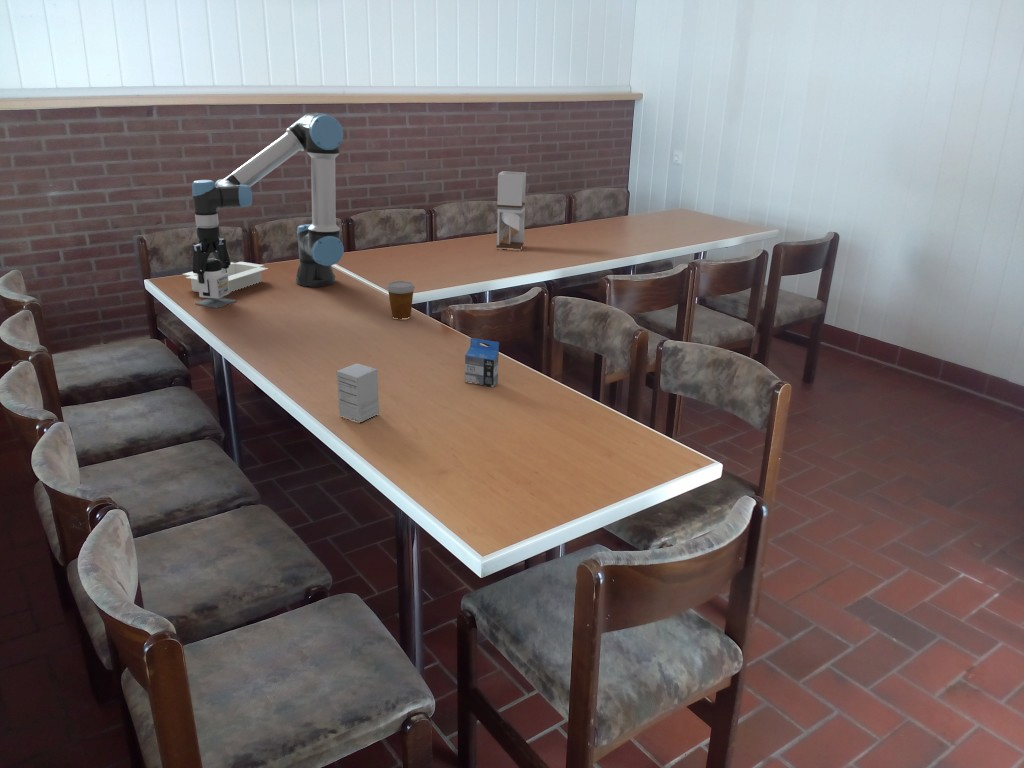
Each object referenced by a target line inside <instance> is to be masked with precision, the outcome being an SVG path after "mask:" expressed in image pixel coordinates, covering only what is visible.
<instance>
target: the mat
mask: <svg viewBox="0 0 1024 768" xmlns="http://www.w3.org/2000/svg"><path fill="white" fill-rule="evenodd" d="M233 302H234V303H236V302H237V299H232V298H226V297H221V298H219V299H216V298H206V299H203V300H200V301H197V302H195V303H194V304H195V305H197V306H203V307H209V308H212V307H213V308H214V309H218V307H219V308H222V307H224V305H225V306H227V304H228V305H231V304H233ZM230 303H231V304H230ZM221 306H222V307H221ZM213 308H212V309H213Z"/></svg>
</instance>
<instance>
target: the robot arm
mask: <svg viewBox="0 0 1024 768" xmlns="http://www.w3.org/2000/svg"><path fill="white" fill-rule="evenodd" d="M343 139H344V130H343V126H342V125H341V123H340V121H339V120H338V119H337V118H335V117H334V116H332V115H330V114H329V113H328V114H327V113H324V112H323V113H321V112H316V111H313V112H307V113H306V114H304V115H303V116H302V117H300V118H299V119H298V120H296V121H295V122H293V124H291V125H290V126H289V127H287V128H286V131H285V133H284V134H282V135H281V136H280V137H279V138H277V139H276V140H275V141H273V142H272V143H271V144H269V145H268V146H266V147H265V148H264V149H262V150H261V151H260V152H258V153H257V154H256V155H254V156H253V157H251V158H250V159H249V160H248V161H246V162H245V163H243V164H242V165H241V166H240V167H238V168H237V169H235V170H234V171H233V172H232V173H230V174H229V175H227V176H226V177H225V178H219V179H218V180H216V181H213V180H211V179H199V180H194V181H193V182H192V184H191V192H192V194H191V197H192V203H193V210H194V219H195V226H196V228H195V229H196V230H195V231H196V237H197V238H198V239H199V241H198V244H192V251H193V254H192V256H193V257H192V271H193V273H196V274H198V279H199V283H200V287H201V292H206V293H208V284H207V275H206V274H204V273H205V269H206V264H207V260H208V259H209V257H210V256H211V254H213V255H214V259H218V260H220V261H221V267H222V272H223V273H227V269H226V268H229V266H228V265H230V264H231V263H230V262H231V260H230V256H229V253H228V248H227V239H226V238H220V237H221V232H220V226H219V224H220V223H219V214H218V213H219V212H218V209H225V208H244V207H250V206H252V204H253V193H252V189H251V187H252V186H254V185H255V184H256V183H257V182H259V181H260V180H262V179H263V178H265V177H266V176H267V175H269V174H270V173H271V172H273V171H274V170H275V169H276V168H278V167H280V166H281V165H282V164H283V163H285V162H286V161H288V160H289V159H291V157H293V156H295V155H296V154H297V153H298V152H304V151H306V153H307V154H308V156H309V157H310V174H311V175H310V177H311V180H310V182H311V183H310V184H311V221H312V222H311V223H308V224H306V223H305V224H300V225H298V226H297V232H296V235H297V243H298V245H297V246H298V260H299V266H298V267H297V273H296V276H295V281H296V284H297V285H298V284H299V286H301V285H302V287H307V286H309V287H308V288H320V287H326V286H331V285H334V284H335V283H336V276H335V273H334V270H333V267H332V266H334V265H336V264H337V263H338V262H340V261H341V260H342V258H343V256H344V254H345V253H344V252H345V247H344V245H343V242H342V241H341V228H340V227H339V226H338V225H337V216H336V215H337V213H336V212H337V211H336V207H337V206H336V202H337V201H336V198H337V197H336V196H337V195H336V158H337V157H338V156H339V155H340V145H341V144H342V141H343Z"/></svg>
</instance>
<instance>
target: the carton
mask: <svg viewBox="0 0 1024 768" xmlns="http://www.w3.org/2000/svg"><path fill="white" fill-rule="evenodd" d="M230 263H231V264H230V265H228V266H229V268H226V269H227V273H228V281H229V291H230V293H233V292H236V291H238V289H239V290H241V288H242V289H245V288H247V286H248V287H251V286H254V285H257V284H259V282H260V283H262V282H263V281H262V272H263V271H267V270H269V267H268V268H267V267H265V265H264V264H258V263H252V262H245V261H238V262H233V261H230ZM182 276H186V277H185V279H187V280H189V279H190V283H191V284H190V285H191V291H192V292H195V293H199V288H198V279H197V276H198V274H196V273H193V270H192V271H189V272H185V273H182ZM256 283H257V284H256ZM253 284H254V285H253ZM250 285H251V286H250ZM244 287H245V288H244ZM235 290H236V291H235ZM232 291H233V292H232Z"/></svg>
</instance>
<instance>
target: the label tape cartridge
mask: <svg viewBox="0 0 1024 768" xmlns="http://www.w3.org/2000/svg"><path fill="white" fill-rule="evenodd" d="M484 344H485V345H484ZM486 345H489V346H486ZM499 347H500V343H499V341H494V340H493V341H492V340H488V339H487V340H486V339H481V338H474V337H470V346H469V347H468V350H467V352H466V353H465V356H464V357H465V358H464V382H465V381H467V382H472V383H477V384H481V385H480V386H483V385H486V386H485V387H489V386H491V387H490V388H494V387H495V386H497V385H498V383H499V353H500V351H499V350H500V348H499ZM477 384H476V385H477Z"/></svg>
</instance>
